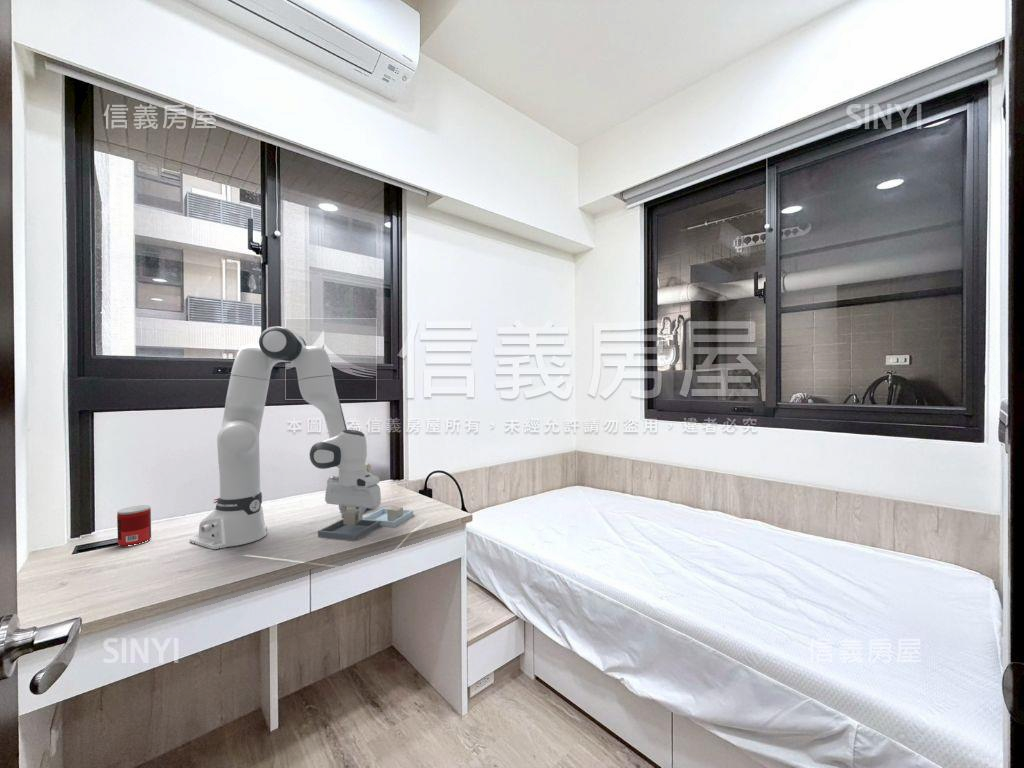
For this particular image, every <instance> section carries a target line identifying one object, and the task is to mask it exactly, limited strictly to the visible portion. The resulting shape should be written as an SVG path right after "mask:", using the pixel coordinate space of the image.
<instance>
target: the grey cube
mask: <svg viewBox="0 0 1024 768" xmlns="http://www.w3.org/2000/svg"><path fill="white" fill-rule="evenodd" d="M403 510H404V507H403V506H391V507H390V508H389V509H388V510H387V521H395V520H397V519H398V518H400V517H402V516H403Z"/></svg>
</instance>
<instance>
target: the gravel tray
mask: <svg viewBox="0 0 1024 768" xmlns="http://www.w3.org/2000/svg"><path fill="white" fill-rule="evenodd" d="M380 527H381V526H380V521H372V520H361V521H360V522H358V523H357V524H355V525H348V524H343V518H341V519H340V520H337V521H336V522H334V523H331V524H330V525H327V526H325V527H323V528H321V529H319V530H317V537H318V538H326V539H336V540H346V541H354V542H355V541H357V540H359V539H361V538H363V537H365V536H366V535H368V534H369V533H371V532H373V531H375V530H376V529H378V528H380Z"/></svg>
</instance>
